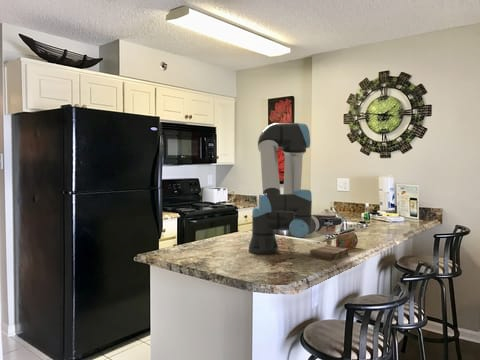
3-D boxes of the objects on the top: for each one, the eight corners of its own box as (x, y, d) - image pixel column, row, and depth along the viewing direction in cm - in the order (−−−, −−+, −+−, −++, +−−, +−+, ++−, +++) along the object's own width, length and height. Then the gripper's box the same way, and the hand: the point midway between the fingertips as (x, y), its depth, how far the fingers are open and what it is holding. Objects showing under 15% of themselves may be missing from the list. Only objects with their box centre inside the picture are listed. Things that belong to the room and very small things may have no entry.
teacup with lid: (328, 235, 178) (329, 210, 178) (312, 233, 185) (312, 208, 184) (342, 232, 186) (343, 208, 186) (326, 230, 193) (327, 207, 193)
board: (332, 260, 178) (332, 254, 178) (309, 256, 186) (310, 250, 186) (348, 254, 190) (348, 248, 190) (326, 250, 198) (326, 244, 198)
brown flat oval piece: (339, 251, 197) (339, 235, 197) (334, 250, 200) (334, 234, 200) (358, 248, 206) (358, 232, 206) (353, 246, 209) (353, 231, 208)
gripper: (289, 230, 177) (310, 223, 196) (335, 235, 165) (352, 228, 183) (289, 213, 177) (310, 209, 195) (335, 217, 164) (352, 212, 183)
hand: (330, 218), depth 189 cm, fingers closed on teacup with lid, 9 cm apart
